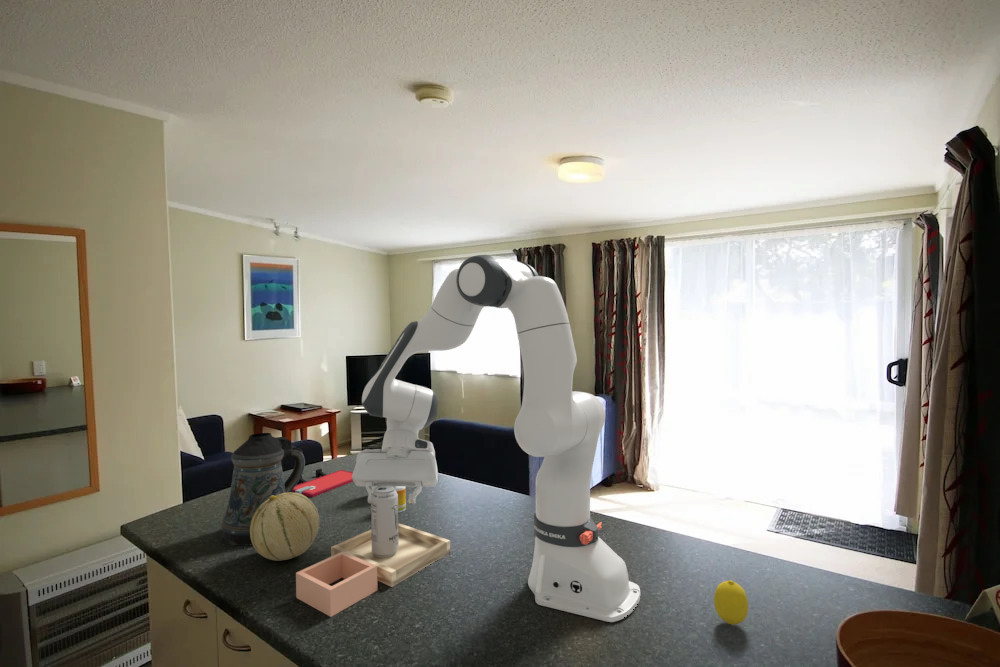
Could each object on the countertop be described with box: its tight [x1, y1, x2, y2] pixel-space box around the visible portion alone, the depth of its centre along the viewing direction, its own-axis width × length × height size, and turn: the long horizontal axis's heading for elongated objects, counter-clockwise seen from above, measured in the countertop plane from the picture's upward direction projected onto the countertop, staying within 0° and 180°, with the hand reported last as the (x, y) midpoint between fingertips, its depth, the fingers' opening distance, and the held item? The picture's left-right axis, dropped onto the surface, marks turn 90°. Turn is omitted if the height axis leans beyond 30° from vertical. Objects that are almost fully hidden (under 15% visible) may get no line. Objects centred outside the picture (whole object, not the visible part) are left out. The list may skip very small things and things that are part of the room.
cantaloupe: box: [250, 492, 320, 562], centre depth 116 cm, size 15×15×15 cm
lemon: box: [713, 579, 749, 626], centre depth 90 cm, size 6×6×8 cm
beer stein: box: [220, 432, 306, 546], centre depth 131 cm, size 16×19×25 cm
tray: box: [330, 522, 451, 588], centre depth 116 cm, size 20×18×3 cm
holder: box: [295, 551, 378, 618], centre depth 100 cm, size 11×11×5 cm
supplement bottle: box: [394, 486, 407, 514], centre depth 144 cm, size 5×5×10 cm
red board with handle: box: [291, 468, 354, 498], centre depth 164 cm, size 30×3×15 cm
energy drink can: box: [370, 485, 399, 558], centre depth 115 cm, size 6×6×15 cm
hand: (391, 502), depth 117 cm, fingers open, 8 cm apart
